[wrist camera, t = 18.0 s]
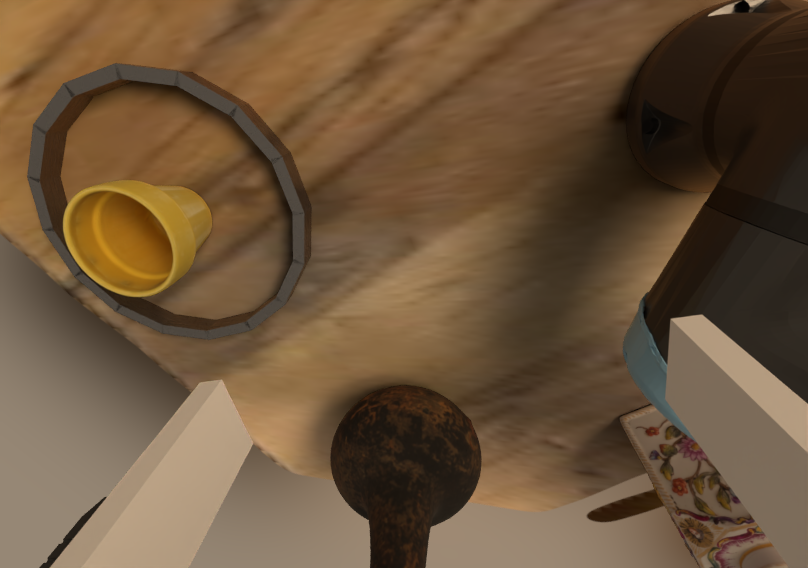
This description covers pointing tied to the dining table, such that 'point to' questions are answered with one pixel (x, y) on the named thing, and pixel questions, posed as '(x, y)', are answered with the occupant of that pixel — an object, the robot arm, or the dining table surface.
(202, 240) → the plant pot
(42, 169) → the centring collar
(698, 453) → the decorative jar
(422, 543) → the glass bottle
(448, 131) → the dining table surface
